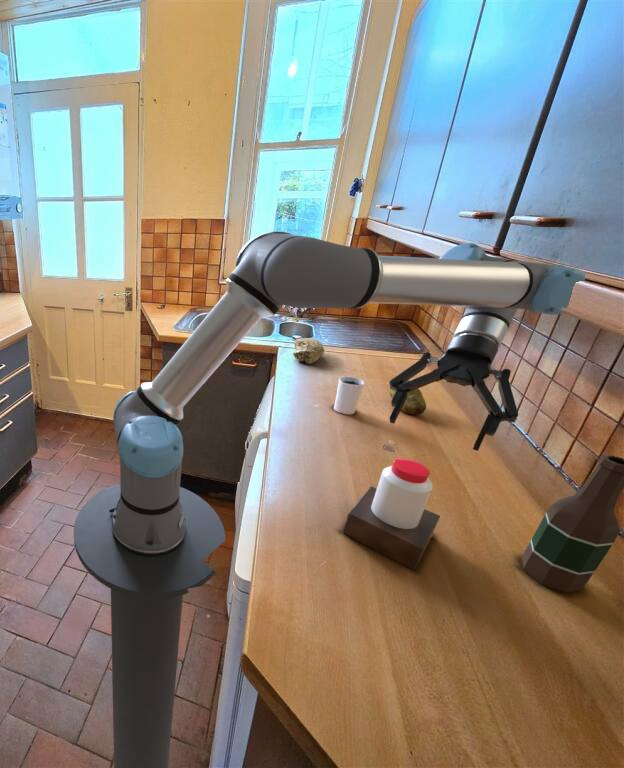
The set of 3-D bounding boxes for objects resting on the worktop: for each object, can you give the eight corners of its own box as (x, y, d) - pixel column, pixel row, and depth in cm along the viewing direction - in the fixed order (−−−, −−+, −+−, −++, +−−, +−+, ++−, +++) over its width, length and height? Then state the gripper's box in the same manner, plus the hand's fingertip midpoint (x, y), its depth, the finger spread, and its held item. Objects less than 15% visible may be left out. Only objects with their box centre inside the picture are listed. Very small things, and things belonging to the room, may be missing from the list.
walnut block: (342, 532, 80) (348, 513, 78) (365, 504, 87) (370, 486, 85) (414, 570, 72) (422, 549, 70) (432, 535, 79) (440, 515, 77)
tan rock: (317, 369, 159) (331, 346, 171) (316, 351, 156) (331, 329, 168) (283, 367, 168) (299, 345, 180) (281, 350, 165) (298, 329, 177)
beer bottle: (588, 581, 69) (667, 465, 59) (572, 602, 66) (652, 483, 56) (528, 550, 75) (590, 441, 65) (511, 568, 72) (573, 455, 62)
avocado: (392, 414, 123) (400, 391, 120) (383, 397, 134) (390, 374, 130) (425, 419, 120) (433, 395, 117) (413, 401, 131) (420, 378, 128)
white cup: (330, 403, 130) (337, 375, 126) (354, 406, 128) (361, 377, 124) (333, 413, 124) (341, 383, 120) (358, 416, 122) (366, 386, 118)
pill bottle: (361, 503, 80) (376, 457, 76) (395, 498, 81) (411, 452, 77) (393, 531, 73) (410, 482, 69) (429, 526, 74) (449, 477, 70)
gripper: (557, 369, 76) (513, 467, 73) (403, 339, 93) (363, 417, 90) (568, 348, 70) (522, 454, 68) (403, 320, 87) (360, 404, 85)
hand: (431, 433), depth 79 cm, fingers open, 13 cm apart
